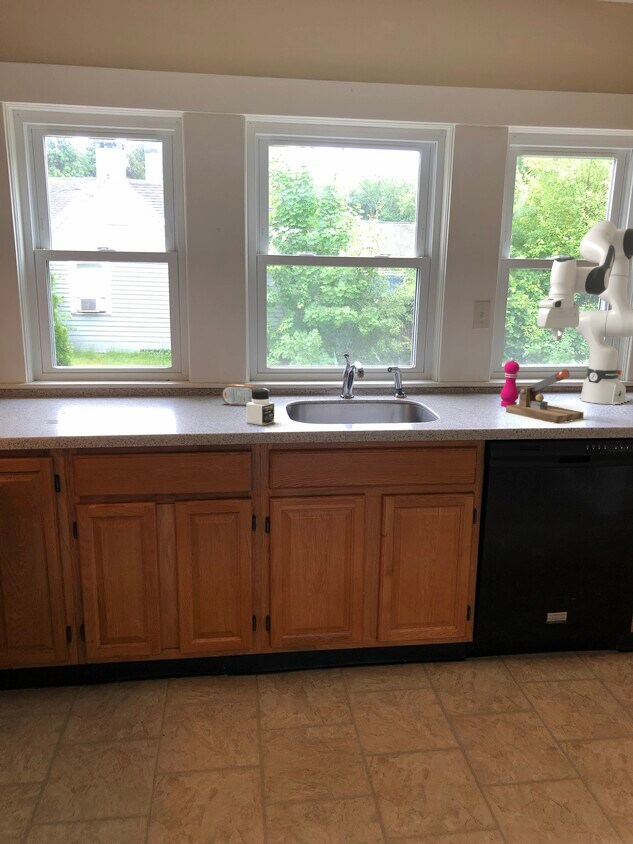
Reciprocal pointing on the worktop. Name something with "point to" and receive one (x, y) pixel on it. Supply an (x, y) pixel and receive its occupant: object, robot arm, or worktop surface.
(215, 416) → the worktop surface
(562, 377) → the lever
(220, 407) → the worktop surface
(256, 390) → the medicine bottle
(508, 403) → the pepper mill
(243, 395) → the tin
